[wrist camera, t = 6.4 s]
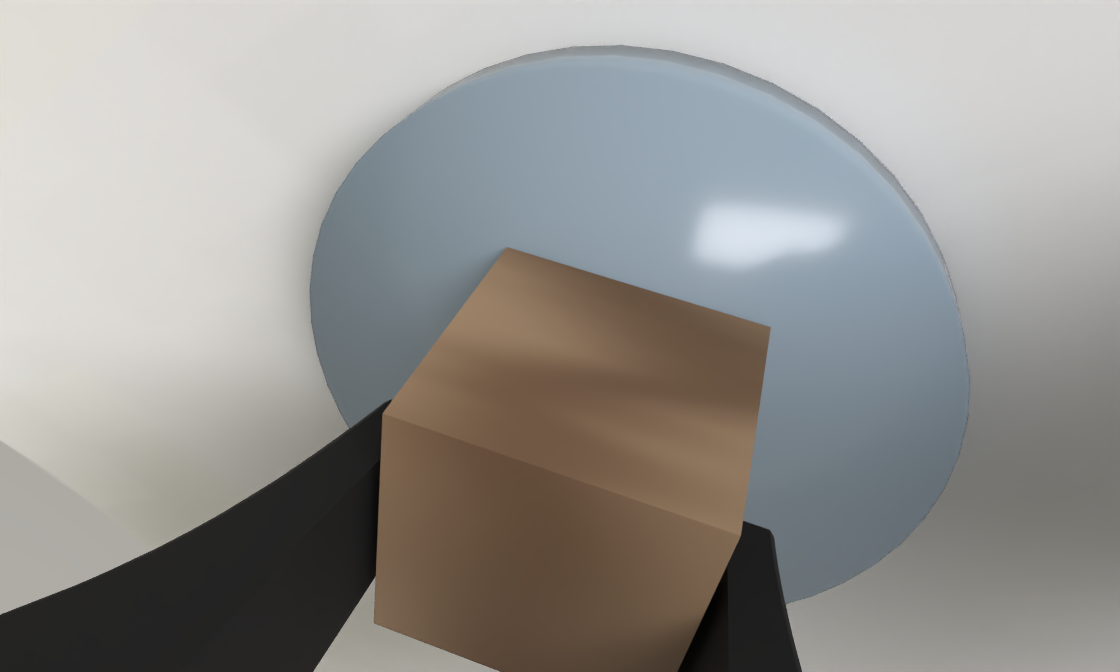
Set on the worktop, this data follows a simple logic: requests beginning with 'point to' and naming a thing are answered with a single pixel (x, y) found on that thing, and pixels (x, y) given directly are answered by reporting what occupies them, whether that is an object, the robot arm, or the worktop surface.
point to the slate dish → (674, 268)
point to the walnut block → (567, 473)
